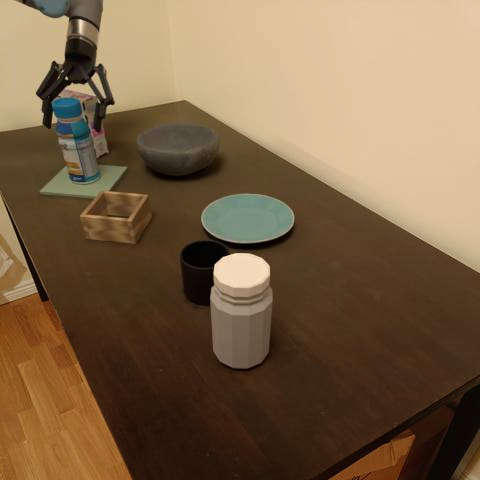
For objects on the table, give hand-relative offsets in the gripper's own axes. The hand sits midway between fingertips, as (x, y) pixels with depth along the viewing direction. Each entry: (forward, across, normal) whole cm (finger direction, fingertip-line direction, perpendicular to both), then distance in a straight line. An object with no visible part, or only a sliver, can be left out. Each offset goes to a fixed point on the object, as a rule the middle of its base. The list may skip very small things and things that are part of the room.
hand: (71, 128), depth 109 cm
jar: (+49, -53, +28) cm, 78 cm away
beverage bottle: (+10, 0, -10) cm, 14 cm away
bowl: (+2, -24, -19) cm, 31 cm away
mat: (+10, 0, -10) cm, 14 cm away
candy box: (-3, +8, -24) cm, 26 cm away
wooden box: (+25, -18, +4) cm, 31 cm away
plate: (+20, -48, 0) cm, 52 cm away
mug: (+38, -43, +17) cm, 60 cm away
